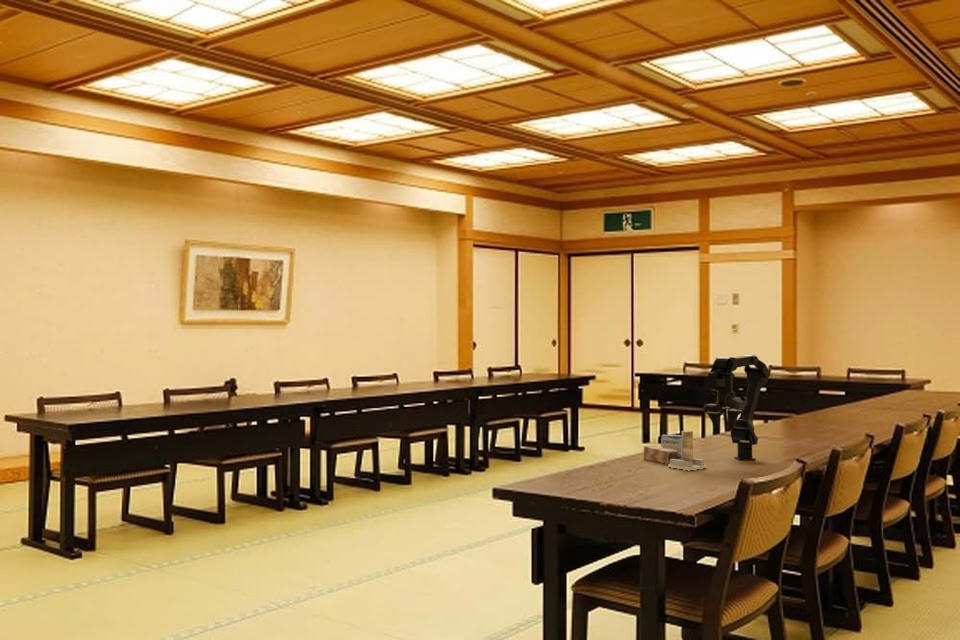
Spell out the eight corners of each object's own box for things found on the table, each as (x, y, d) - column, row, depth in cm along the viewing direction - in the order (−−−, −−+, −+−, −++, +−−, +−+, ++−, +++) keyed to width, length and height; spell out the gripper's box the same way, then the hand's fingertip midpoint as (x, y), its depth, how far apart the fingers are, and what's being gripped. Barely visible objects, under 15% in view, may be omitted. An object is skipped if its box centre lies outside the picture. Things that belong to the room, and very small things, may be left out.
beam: (643, 459, 358) (643, 446, 358) (654, 458, 360) (654, 445, 360) (668, 464, 343) (668, 451, 344) (678, 464, 346) (678, 451, 346)
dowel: (679, 464, 337) (679, 431, 337) (689, 463, 338) (689, 430, 339) (685, 465, 333) (685, 432, 333) (694, 465, 335) (694, 431, 335)
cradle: (685, 465, 343) (685, 456, 343) (706, 468, 335) (706, 459, 335) (667, 467, 337) (667, 459, 337) (688, 471, 329) (688, 462, 329)
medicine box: (661, 456, 364) (661, 435, 364) (662, 455, 369) (662, 434, 369) (681, 457, 362) (681, 436, 362) (681, 456, 366) (681, 434, 366)
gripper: (726, 391, 336) (726, 433, 336) (757, 389, 347) (757, 429, 347) (702, 389, 345) (702, 430, 345) (733, 387, 356) (733, 427, 356)
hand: (724, 429), depth 348 cm, fingers open, 9 cm apart
